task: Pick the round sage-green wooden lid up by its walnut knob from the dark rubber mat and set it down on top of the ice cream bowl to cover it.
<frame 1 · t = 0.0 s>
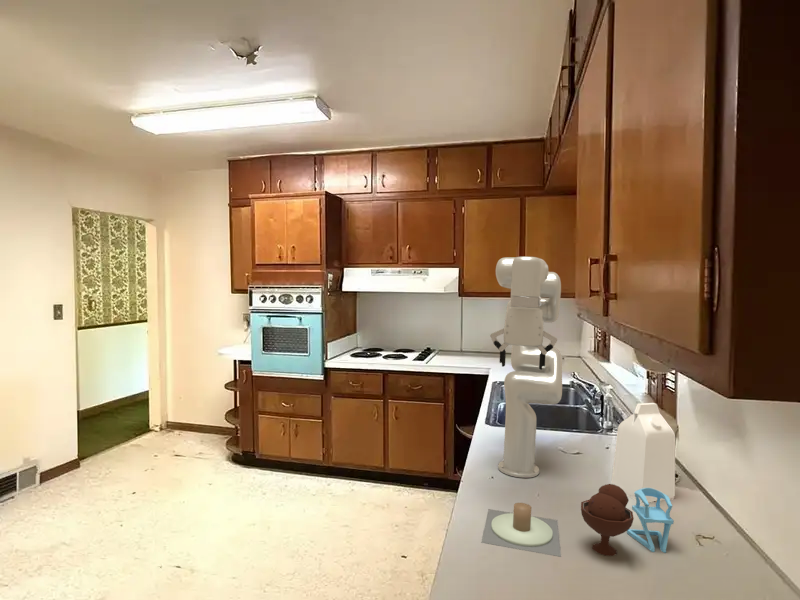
hand: (521, 367, 129), 37 cm above the countertop, tool pointing down, fingers open, 9 cm apart
lid: (521, 530, 114), point 1 cm above the countertop, touching mat
mat: (521, 533, 114), on the countertop
milk: (642, 493, 140), on the countertop
chair: (650, 543, 112), on the countertop
ice cream bowl: (604, 552, 107), on the countertop
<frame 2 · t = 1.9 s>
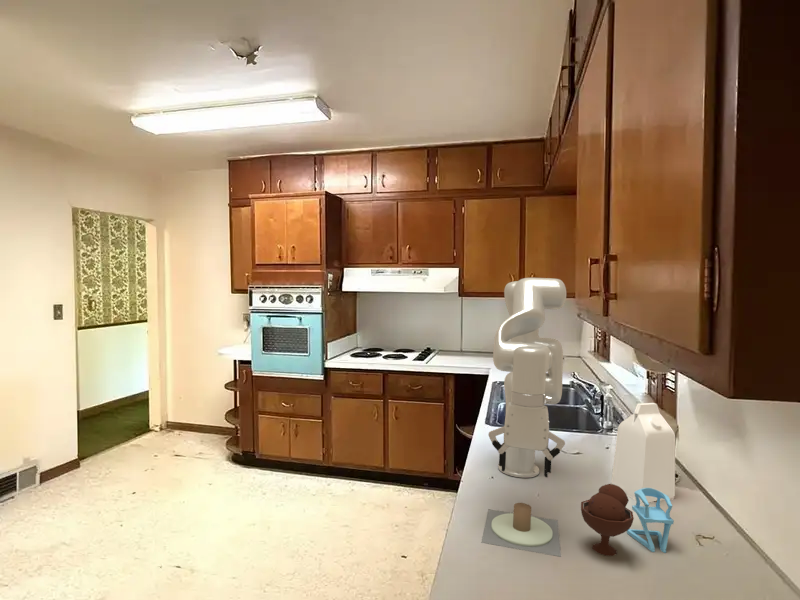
hand: (524, 472, 113), 15 cm above the countertop, tool pointing down, fingers open, 9 cm apart
nothing on the countertop moved.
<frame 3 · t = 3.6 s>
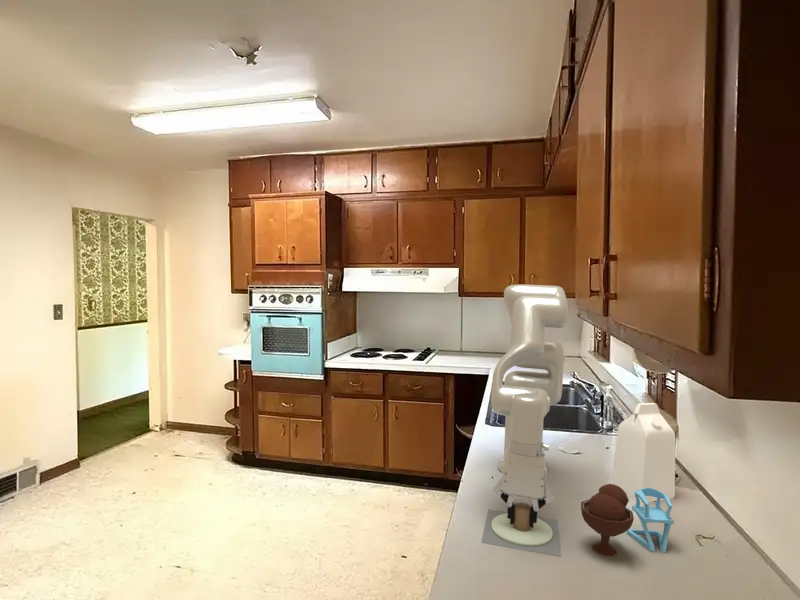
hand: (521, 522, 114), 3 cm above the countertop, tool pointing down, fingers closed on lid, 4 cm apart
lid: (521, 530, 114), point 1 cm above the countertop, touching gripper, mat
everything else where it was.
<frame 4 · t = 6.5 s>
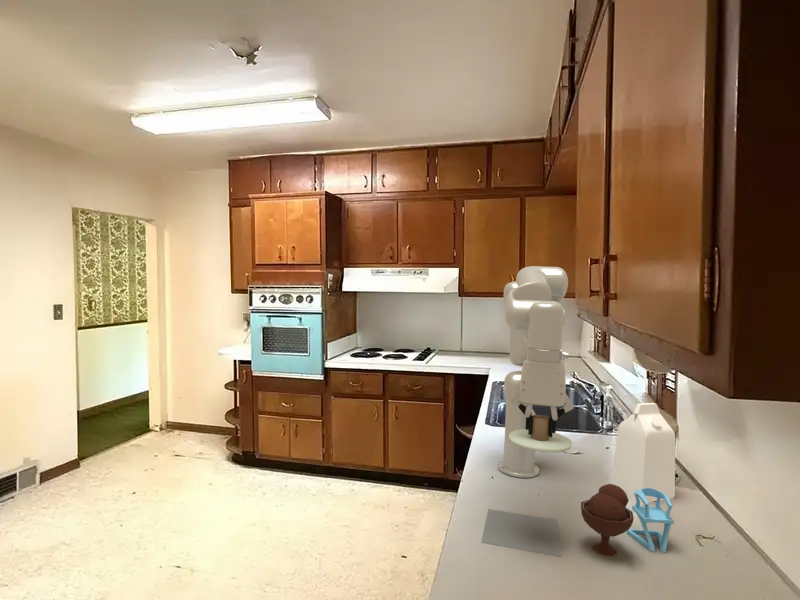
hand: (540, 433, 112), 24 cm above the countertop, tool pointing down, fingers closed on lid, 4 cm apart
lid: (539, 441, 112), point 22 cm above the countertop, touching gripper
everything else where it was.
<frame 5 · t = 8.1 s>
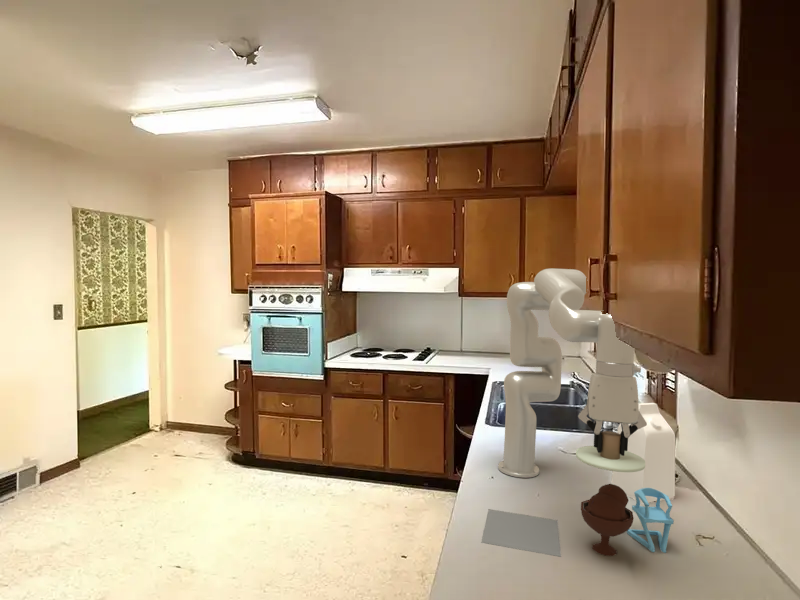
hand: (610, 451, 107), 23 cm above the countertop, tool pointing down, fingers closed on lid, 4 cm apart
lid: (609, 459, 107), point 21 cm above the countertop, touching gripper
everything else where it was.
when the fingers open (18 cm above the countertop, at t = 9.3 s): lid drops 1 cm, resting on ice cream bowl.
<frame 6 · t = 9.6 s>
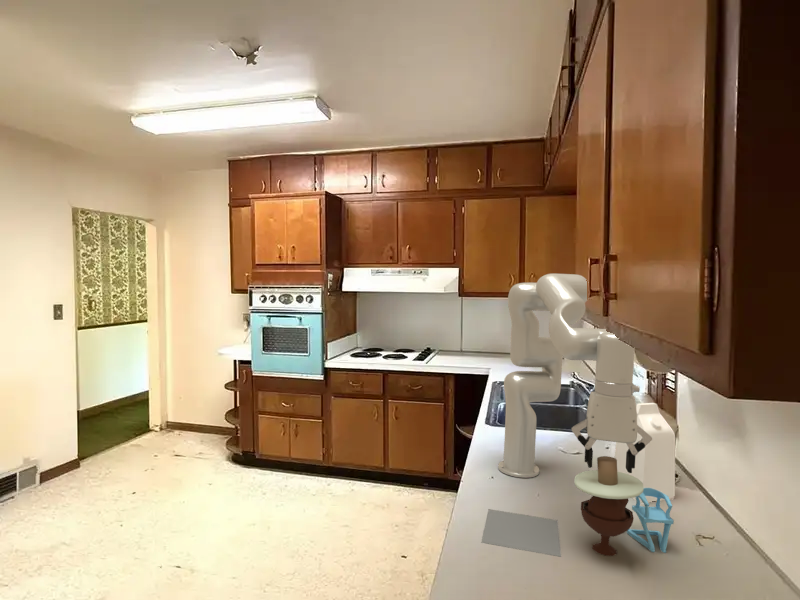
hand: (608, 467, 107), 19 cm above the countertop, tool pointing down, fingers open, 7 cm apart
lid: (608, 485, 107), point 15 cm above the countertop, tilted 5°, touching ice cream bowl
ice cream bowl: (604, 552, 107), on the countertop, touching lid
everything else where it was.
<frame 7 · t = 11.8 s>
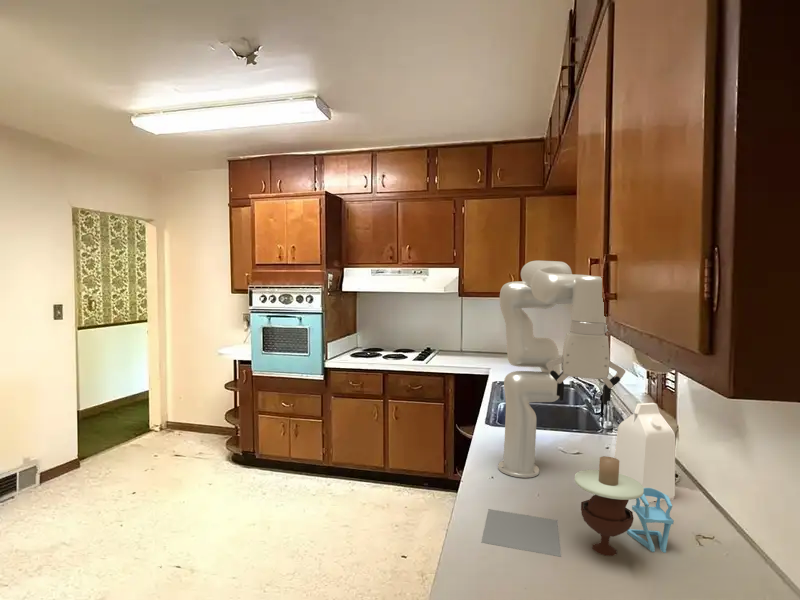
hand: (582, 401, 113), 32 cm above the countertop, tool pointing down, fingers open, 9 cm apart
lid: (608, 485, 107), point 15 cm above the countertop, touching ice cream bowl
everything else where it was.
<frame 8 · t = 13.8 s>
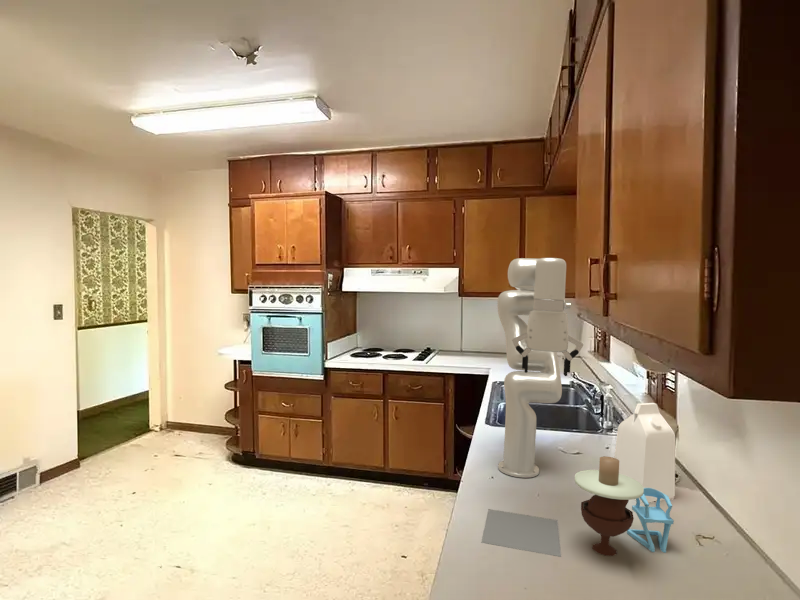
hand: (545, 373, 123), 36 cm above the countertop, tool pointing down, fingers open, 9 cm apart
nothing on the countertop moved.
at the end: lid 0.0 cm from the ice cream bowl (horizontally); lid point 15.0 cm above the countertop; lid tilted 0° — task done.
